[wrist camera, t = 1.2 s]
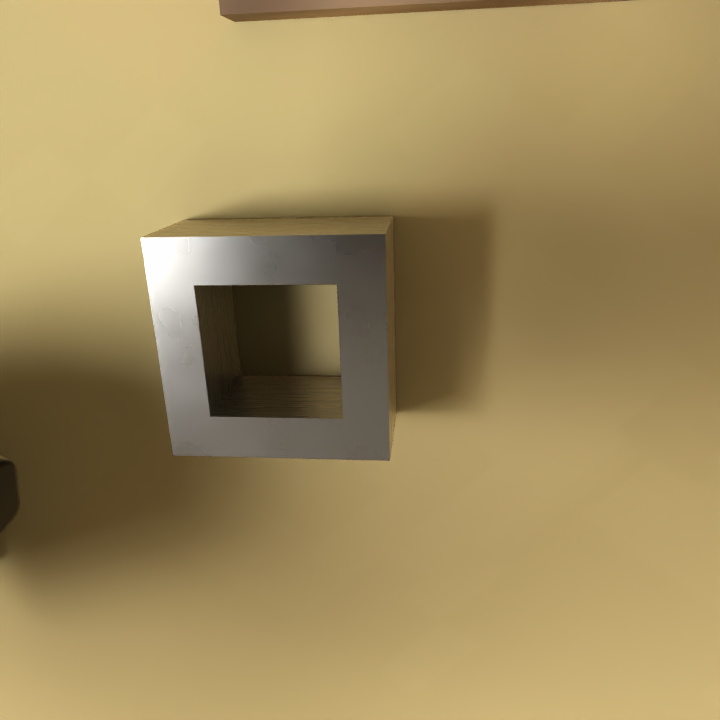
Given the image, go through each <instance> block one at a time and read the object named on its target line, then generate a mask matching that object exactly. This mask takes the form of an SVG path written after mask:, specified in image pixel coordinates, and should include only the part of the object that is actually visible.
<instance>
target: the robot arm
mask: <svg viewBox="0 0 720 720" xmlns="http://www.w3.org/2000/svg"><path fill="white" fill-rule="evenodd" d="M19 506H20V496H19V487H18V479H17V470H16V466H15V464H14V463H13V462H12V461H11V460H9V459H7V458H4V457H2V456H0V534H1V533H2V532H3V531H4V530H5V528H6V527H7V526H8V525H9V524H10V523H11V521H12V520H13V519H14V518H15V516H16V514H17V512H18V510H19Z"/></svg>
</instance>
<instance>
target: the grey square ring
mask: <svg viewBox="0 0 720 720" xmlns="http://www.w3.org/2000/svg"><path fill="white" fill-rule="evenodd" d="M141 244H142V251H143V257H144V264H145V271H146V277H147V284H148V291H149V298H150V304H151V311H152V318H153V324H154V331H155V338H156V344H157V351H158V358H159V364H160V371H161V378H162V385H163V391H164V398H165V405H166V411H167V418H168V425H169V431H170V438H171V445H172V452H173V455H177V456H219V457H260V458H302V459H344V460H385V461H390V456H391V449H392V441H393V434H394V426H395V419H396V361H395V297H394V233H393V216H359V217H305V218H252V219H198V220H183V221H180V222H178V223H175V224H173V225H171V226H168V227H166V228H163V229H161V230H158V231H156V232H153V233H151V234H149V235H146V236H144V237H141ZM324 284H337V295H338V317H339V338H340V360H341V376H255V375H241V367H240V358H239V348H238V338H237V329H236V319H235V309H234V300H233V290H232V285H324Z"/></svg>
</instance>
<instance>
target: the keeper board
mask: <svg viewBox="0 0 720 720" xmlns="http://www.w3.org/2000/svg"><path fill="white" fill-rule="evenodd" d="M610 1H628V0H219V5H220V15H222V16H224V17H226V18H228V19H230V20H232V21H234V22H239V21H258V20H276V19H295V18H313V17H332V16H350V15H369V14H387V13H406V12H424V11H443V10H462V9H480V8H499V7H517V6H536V5H554V4H573V3H591V2H610Z"/></svg>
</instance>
